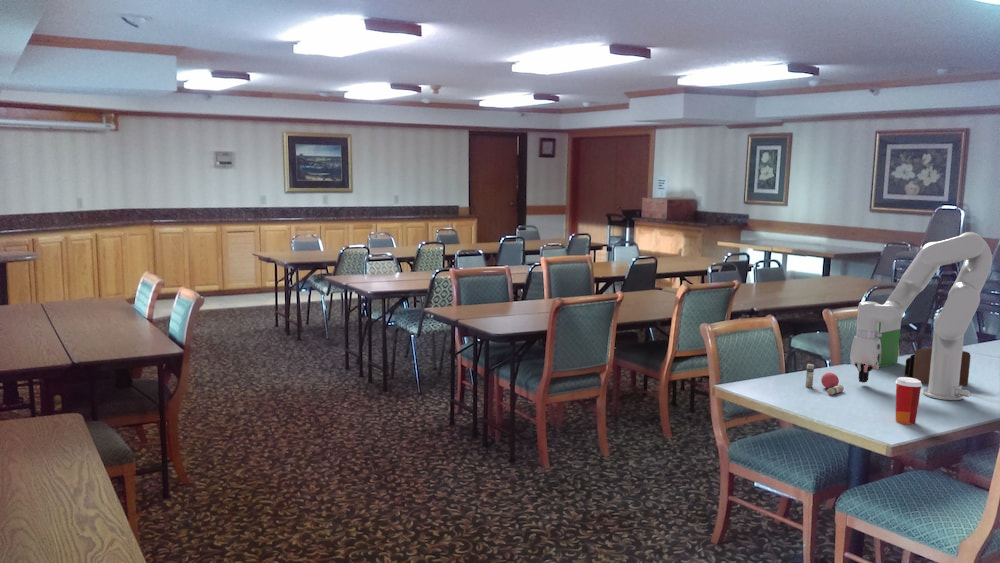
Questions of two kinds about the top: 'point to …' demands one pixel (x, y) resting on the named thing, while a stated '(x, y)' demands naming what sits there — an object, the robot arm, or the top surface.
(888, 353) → the hardback book
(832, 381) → the ball
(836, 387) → the ivory pin
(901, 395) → the paper cup
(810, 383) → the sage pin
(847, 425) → the top surface
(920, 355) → the letter holder
